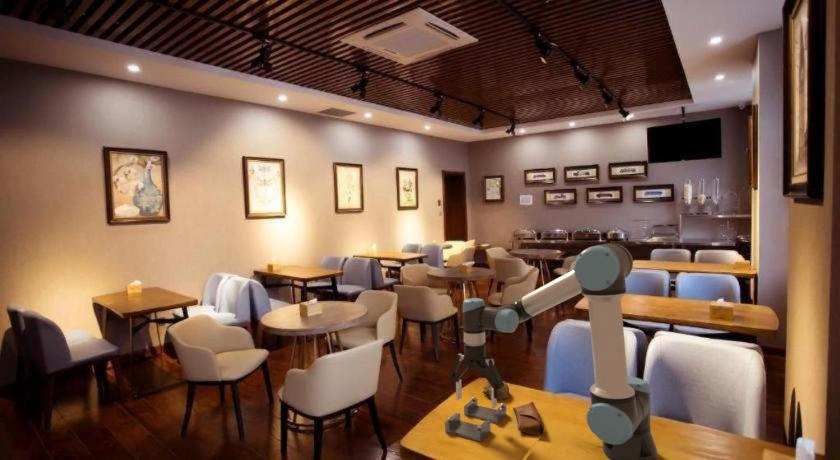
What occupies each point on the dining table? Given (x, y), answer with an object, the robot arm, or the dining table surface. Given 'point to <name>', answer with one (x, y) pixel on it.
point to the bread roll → (502, 392)
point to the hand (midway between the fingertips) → (476, 402)
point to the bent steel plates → (472, 430)
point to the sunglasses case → (528, 419)
